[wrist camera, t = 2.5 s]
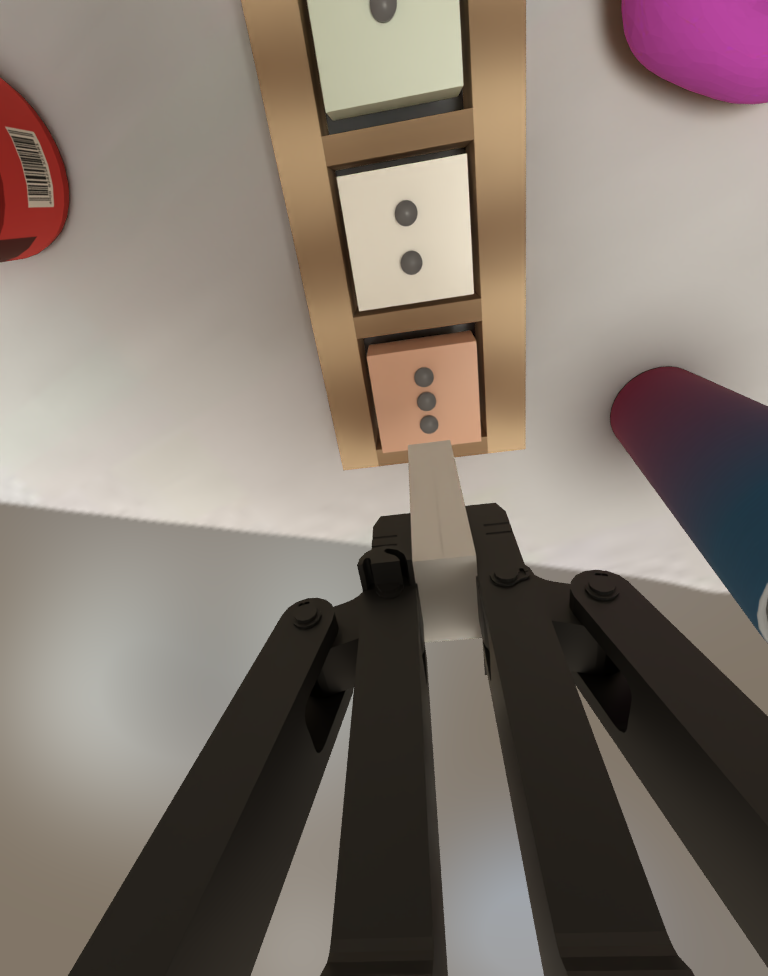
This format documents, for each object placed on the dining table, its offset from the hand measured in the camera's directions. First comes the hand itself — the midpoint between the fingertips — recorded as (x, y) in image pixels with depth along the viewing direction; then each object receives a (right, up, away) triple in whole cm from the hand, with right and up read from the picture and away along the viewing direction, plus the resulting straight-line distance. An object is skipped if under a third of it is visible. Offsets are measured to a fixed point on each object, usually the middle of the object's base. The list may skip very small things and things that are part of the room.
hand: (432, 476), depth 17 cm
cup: (+14, +4, +10) cm, 18 cm away
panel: (-1, +12, +6) cm, 13 cm away
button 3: (0, +5, +7) cm, 9 cm away
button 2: (-1, +11, +4) cm, 11 cm away
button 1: (-2, +17, 0) cm, 17 cm away
